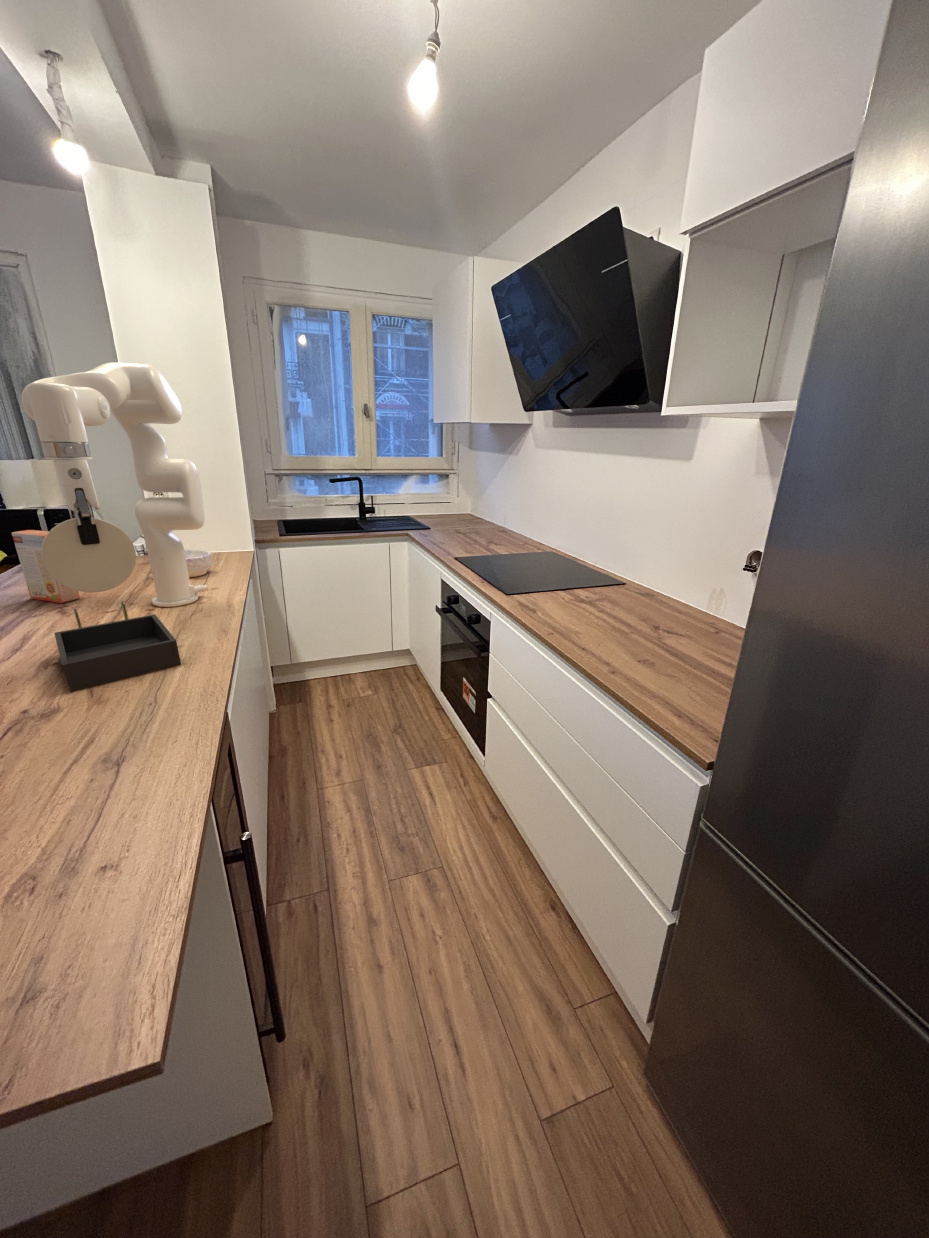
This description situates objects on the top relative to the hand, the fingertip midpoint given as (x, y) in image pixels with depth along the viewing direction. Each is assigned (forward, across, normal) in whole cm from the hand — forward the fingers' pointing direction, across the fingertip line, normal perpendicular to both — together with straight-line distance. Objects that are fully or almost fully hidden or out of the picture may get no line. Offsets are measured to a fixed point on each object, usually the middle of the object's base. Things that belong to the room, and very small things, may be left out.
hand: (90, 542), depth 103 cm
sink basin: (+27, -2, 0) cm, 27 cm away
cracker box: (+27, +63, +8) cm, 69 cm away
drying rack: (+27, +21, 0) cm, 34 cm away
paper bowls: (+27, +69, -32) cm, 81 cm away
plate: (+11, 0, 0) cm, 11 cm away
